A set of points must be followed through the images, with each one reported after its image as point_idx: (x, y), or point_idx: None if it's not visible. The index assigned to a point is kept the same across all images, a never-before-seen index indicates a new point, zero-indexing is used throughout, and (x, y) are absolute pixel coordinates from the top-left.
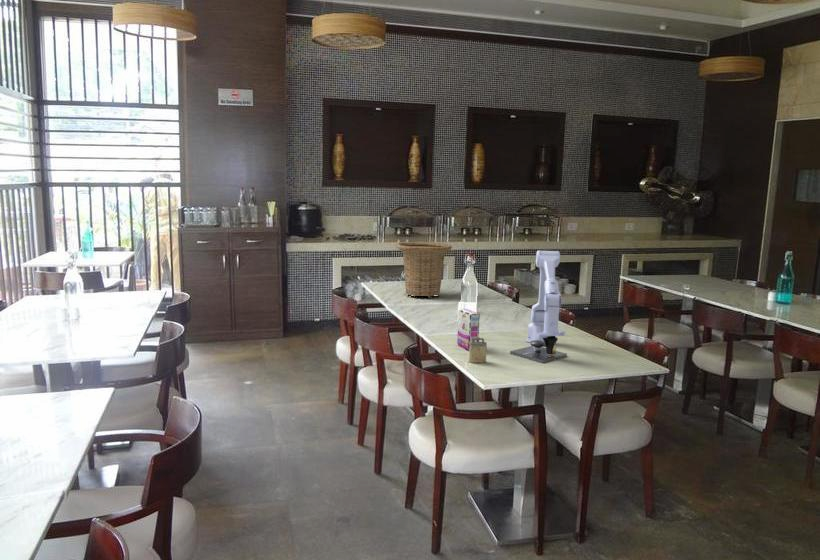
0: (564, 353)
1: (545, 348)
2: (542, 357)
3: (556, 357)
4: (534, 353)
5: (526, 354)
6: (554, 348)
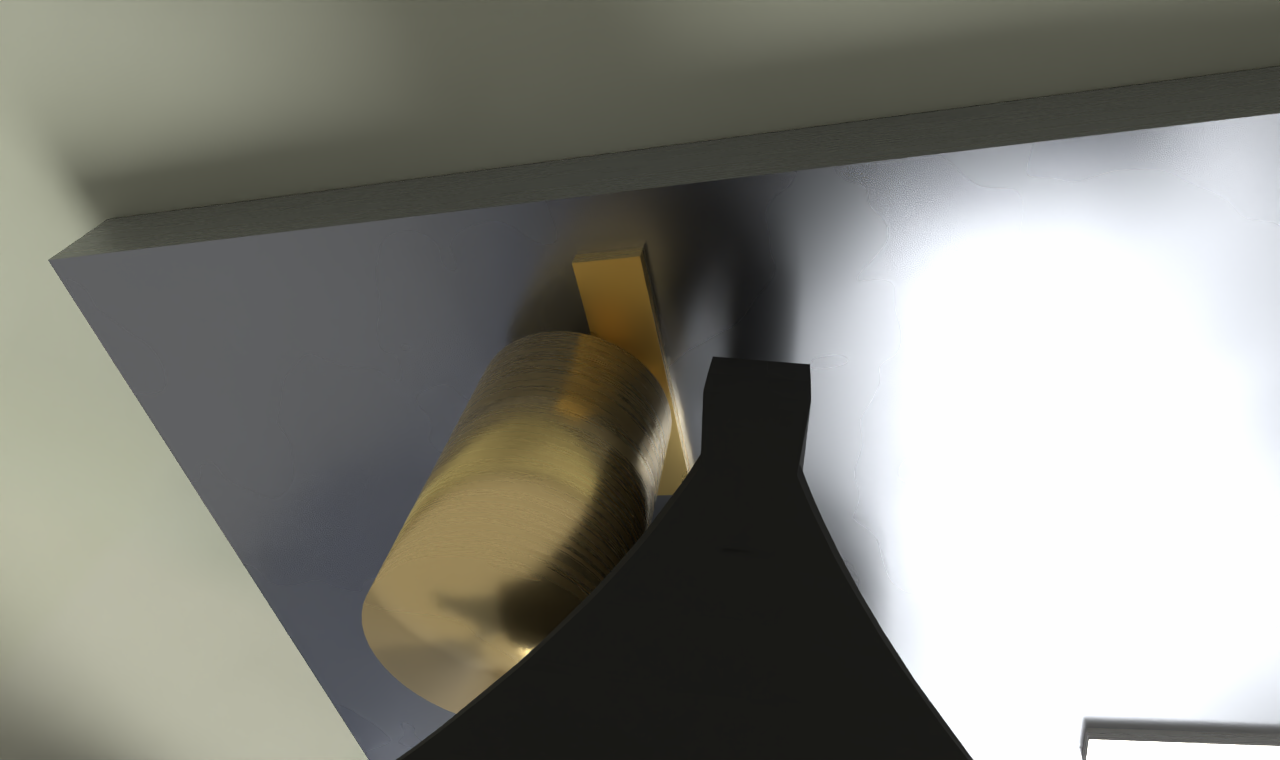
0: (124, 307)
1: (385, 738)
2: (1186, 350)
3: (599, 180)
4: (958, 680)
5: (1250, 729)
6: (537, 483)
